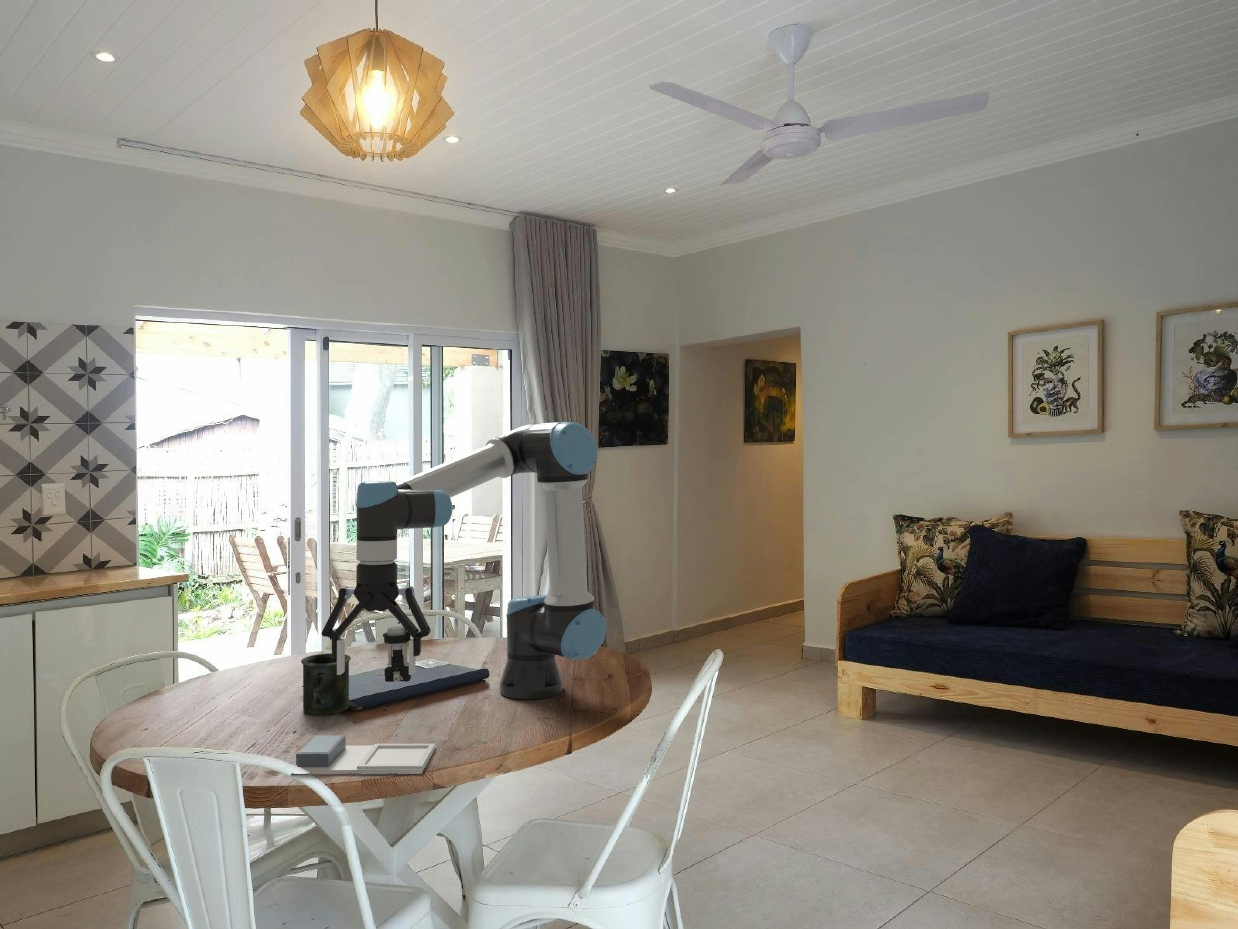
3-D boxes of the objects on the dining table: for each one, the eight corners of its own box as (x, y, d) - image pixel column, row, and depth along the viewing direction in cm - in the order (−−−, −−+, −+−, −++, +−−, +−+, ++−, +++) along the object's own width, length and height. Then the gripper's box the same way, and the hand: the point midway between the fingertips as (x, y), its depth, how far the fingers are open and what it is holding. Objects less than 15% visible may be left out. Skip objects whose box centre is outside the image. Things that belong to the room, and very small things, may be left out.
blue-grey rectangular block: (345, 748, 180) (345, 735, 180) (328, 767, 169) (328, 753, 169) (314, 748, 180) (314, 735, 180) (296, 767, 169) (296, 753, 169)
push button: (374, 684, 172) (372, 631, 172) (380, 678, 177) (378, 626, 177) (409, 683, 172) (408, 630, 172) (414, 676, 178) (413, 625, 177)
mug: (354, 703, 216) (354, 652, 215) (343, 721, 201) (342, 667, 201) (307, 704, 214) (307, 653, 214) (292, 723, 200) (291, 668, 200)
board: (435, 749, 182) (435, 742, 182) (421, 774, 168) (421, 767, 168) (314, 749, 182) (314, 743, 182) (290, 774, 168) (290, 767, 168)
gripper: (445, 559, 179) (445, 668, 179) (316, 559, 178) (316, 668, 178) (439, 564, 171) (438, 677, 171) (304, 564, 170) (304, 678, 170)
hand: (376, 673), depth 175 cm, fingers open, 13 cm apart
